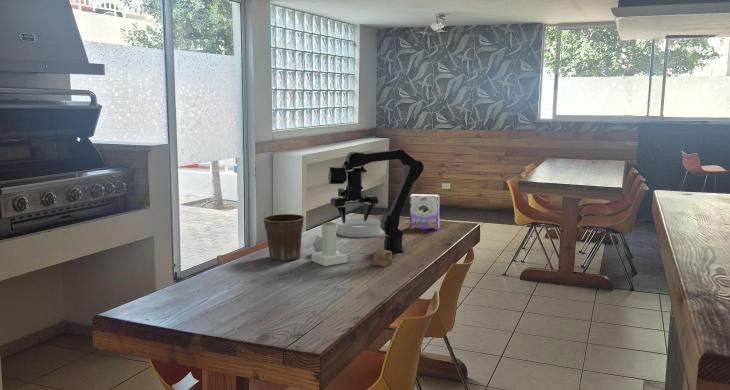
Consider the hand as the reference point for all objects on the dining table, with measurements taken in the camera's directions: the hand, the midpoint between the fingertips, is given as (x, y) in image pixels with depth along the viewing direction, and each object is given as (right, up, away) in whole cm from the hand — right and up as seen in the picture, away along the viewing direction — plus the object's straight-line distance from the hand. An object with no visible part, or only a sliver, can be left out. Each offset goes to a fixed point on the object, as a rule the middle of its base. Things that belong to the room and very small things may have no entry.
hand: (354, 222), depth 261 cm
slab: (-10, -15, -11) cm, 21 cm away
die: (-13, -13, +1) cm, 18 cm away
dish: (+2, -7, +44) cm, 45 cm away
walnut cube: (+11, -16, -15) cm, 24 cm away
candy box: (+33, -6, +53) cm, 63 cm away
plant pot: (-28, -14, -5) cm, 31 cm away
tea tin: (-10, -12, -11) cm, 19 cm away
